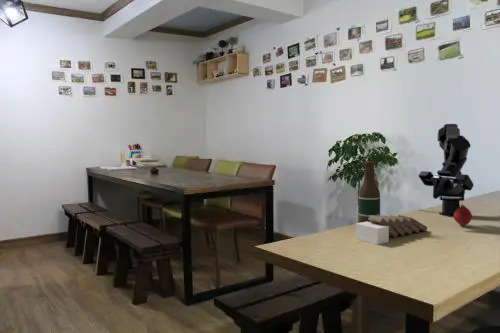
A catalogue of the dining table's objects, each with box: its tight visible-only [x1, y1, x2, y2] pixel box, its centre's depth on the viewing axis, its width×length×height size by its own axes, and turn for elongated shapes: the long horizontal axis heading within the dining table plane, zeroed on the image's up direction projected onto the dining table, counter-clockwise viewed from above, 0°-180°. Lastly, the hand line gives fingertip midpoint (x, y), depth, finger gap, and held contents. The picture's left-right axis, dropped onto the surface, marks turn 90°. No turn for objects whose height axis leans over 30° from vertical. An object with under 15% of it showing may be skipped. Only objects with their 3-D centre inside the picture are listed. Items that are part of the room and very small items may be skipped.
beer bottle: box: [357, 160, 381, 223], centre depth 152 cm, size 8×8×24 cm
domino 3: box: [382, 215, 413, 236], centre depth 139 cm, size 2×5×10 cm
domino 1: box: [368, 215, 399, 239], centre depth 136 cm, size 2×5×10 cm
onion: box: [453, 203, 473, 227], centre depth 150 cm, size 6×6×8 cm
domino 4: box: [390, 215, 421, 234], centre depth 141 cm, size 2×5×10 cm
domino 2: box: [377, 215, 406, 237], centre depth 138 cm, size 2×5×10 cm
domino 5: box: [397, 214, 428, 232], centre depth 144 cm, size 2×5×10 cm
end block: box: [355, 222, 390, 245], centre depth 133 cm, size 5×9×5 cm, turn 32°
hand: (434, 198), depth 149 cm, fingers closed
